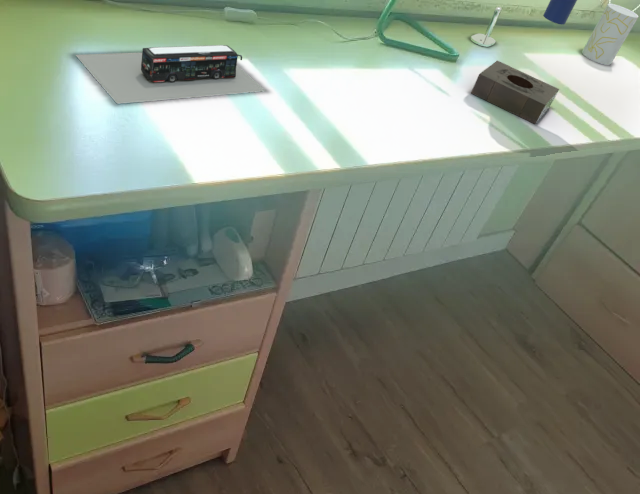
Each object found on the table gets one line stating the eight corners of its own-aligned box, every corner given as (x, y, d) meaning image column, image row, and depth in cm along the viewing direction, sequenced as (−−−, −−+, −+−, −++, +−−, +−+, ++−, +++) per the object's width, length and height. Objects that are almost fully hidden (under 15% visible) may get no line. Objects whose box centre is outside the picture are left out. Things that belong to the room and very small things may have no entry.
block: (549, 107, 125) (559, 89, 122) (535, 124, 117) (545, 105, 114) (488, 78, 128) (497, 60, 125) (470, 93, 120) (479, 73, 117)
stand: (467, 39, 143) (480, 34, 149) (485, 48, 142) (497, 42, 147) (481, 5, 138) (493, 1, 144) (500, 14, 137) (512, 10, 142)
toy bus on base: (265, 91, 98) (270, 65, 95) (117, 103, 84) (117, 74, 81) (220, 49, 105) (223, 24, 102) (75, 55, 91) (74, 26, 88)
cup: (577, 52, 159) (602, 4, 150) (588, 49, 164) (614, 2, 156) (604, 66, 156) (632, 18, 148) (615, 62, 161) (642, 16, 153)
